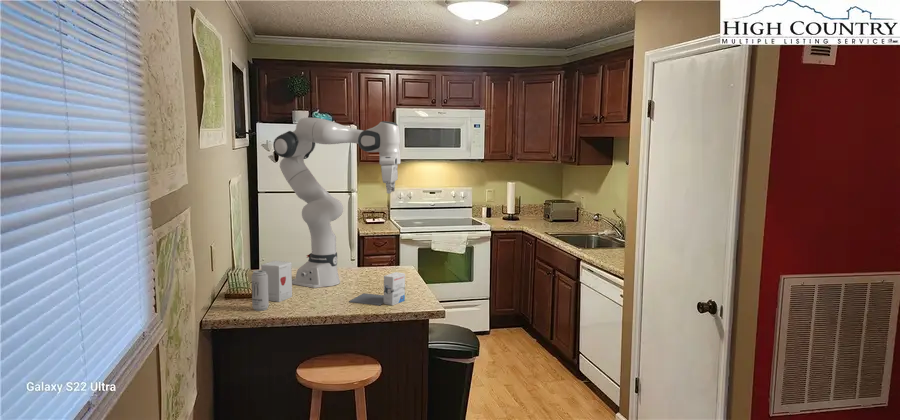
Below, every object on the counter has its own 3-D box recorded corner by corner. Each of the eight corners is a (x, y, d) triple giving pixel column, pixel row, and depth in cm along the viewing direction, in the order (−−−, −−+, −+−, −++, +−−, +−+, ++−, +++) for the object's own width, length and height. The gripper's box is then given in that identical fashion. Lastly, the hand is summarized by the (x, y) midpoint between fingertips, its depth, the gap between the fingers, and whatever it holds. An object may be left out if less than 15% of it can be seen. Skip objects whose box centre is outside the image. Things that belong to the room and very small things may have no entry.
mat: (349, 302, 235) (348, 301, 235) (363, 294, 247) (363, 293, 247) (380, 305, 230) (380, 304, 230) (393, 297, 242) (393, 296, 242)
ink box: (395, 299, 240) (395, 271, 238) (405, 300, 237) (405, 273, 236) (383, 303, 233) (382, 275, 231) (392, 305, 230) (392, 277, 229)
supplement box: (279, 302, 233) (278, 266, 232) (261, 300, 236) (260, 264, 235) (293, 296, 242) (292, 261, 240) (275, 294, 245) (274, 260, 243)
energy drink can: (249, 310, 223) (247, 272, 221) (260, 306, 228) (258, 269, 226) (261, 312, 220) (260, 273, 218) (272, 308, 226) (271, 270, 224)
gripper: (386, 159, 254) (387, 190, 255) (378, 160, 233) (379, 194, 235) (400, 159, 253) (401, 190, 255) (394, 160, 233) (394, 194, 235)
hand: (390, 192), depth 245 cm, fingers open, 8 cm apart
